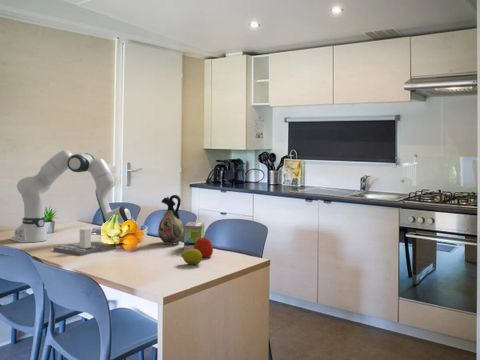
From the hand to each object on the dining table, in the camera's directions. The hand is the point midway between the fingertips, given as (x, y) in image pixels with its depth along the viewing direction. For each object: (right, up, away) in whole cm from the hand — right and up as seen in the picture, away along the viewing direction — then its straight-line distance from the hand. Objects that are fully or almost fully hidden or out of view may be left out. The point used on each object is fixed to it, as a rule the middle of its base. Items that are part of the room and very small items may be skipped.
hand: (98, 233), depth 254 cm
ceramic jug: (+38, -9, +22) cm, 45 cm away
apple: (+60, -11, -12) cm, 62 cm away
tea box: (+53, -10, +7) cm, 54 cm away
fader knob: (-5, -7, -8) cm, 11 cm away
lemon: (+56, -12, -30) cm, 64 cm away
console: (-10, -9, -5) cm, 14 cm away
